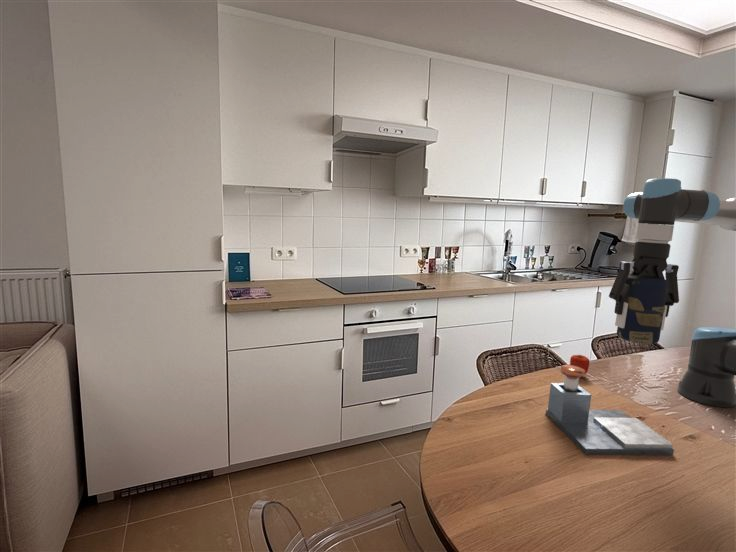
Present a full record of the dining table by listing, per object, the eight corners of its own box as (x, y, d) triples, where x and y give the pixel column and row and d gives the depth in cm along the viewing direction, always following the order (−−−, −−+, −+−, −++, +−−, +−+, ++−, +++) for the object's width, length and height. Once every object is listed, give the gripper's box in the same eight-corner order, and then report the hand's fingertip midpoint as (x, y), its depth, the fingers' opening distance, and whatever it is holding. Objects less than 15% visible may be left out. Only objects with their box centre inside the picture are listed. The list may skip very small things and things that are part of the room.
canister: (665, 348, 102) (677, 277, 99) (623, 344, 104) (633, 273, 102) (648, 338, 111) (659, 272, 109) (610, 333, 113) (619, 269, 111)
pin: (573, 394, 117) (577, 365, 116) (585, 404, 111) (589, 373, 110) (553, 394, 117) (556, 364, 115) (564, 403, 111) (568, 373, 109)
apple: (570, 371, 153) (572, 351, 152) (588, 375, 149) (591, 355, 148) (566, 376, 148) (569, 356, 147) (586, 380, 144) (588, 360, 143)
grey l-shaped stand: (619, 414, 120) (623, 383, 118) (673, 455, 100) (679, 418, 99) (545, 413, 119) (549, 382, 117) (585, 454, 99) (590, 417, 97)
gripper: (684, 243, 108) (669, 326, 111) (600, 238, 107) (589, 321, 111) (708, 245, 100) (691, 334, 104) (618, 240, 100) (605, 329, 103)
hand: (638, 327), depth 107 cm, fingers closed on canister, 9 cm apart
